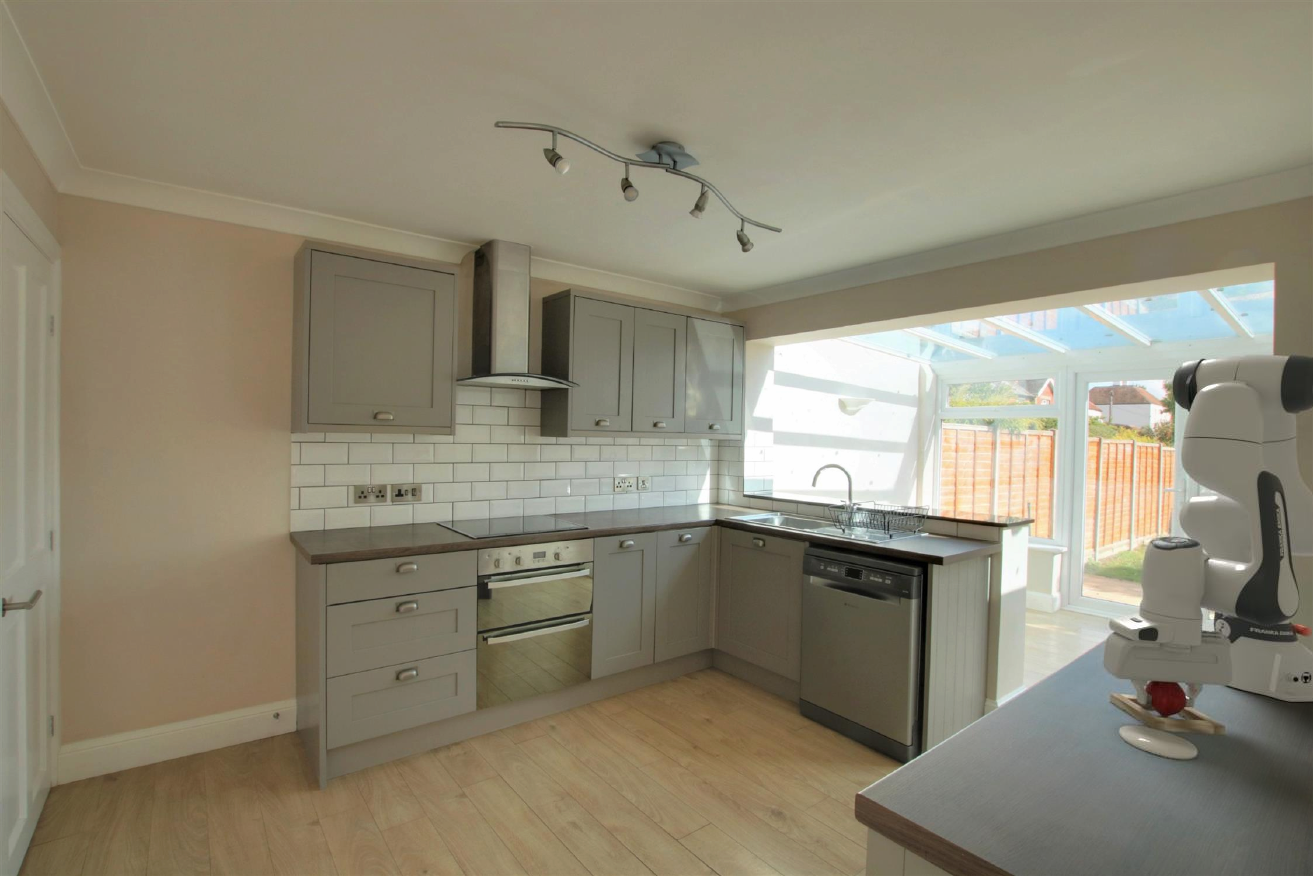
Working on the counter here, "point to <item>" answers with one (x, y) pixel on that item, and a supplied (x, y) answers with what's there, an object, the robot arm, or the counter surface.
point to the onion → (1166, 697)
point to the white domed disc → (1158, 742)
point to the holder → (1192, 724)
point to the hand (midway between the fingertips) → (1164, 704)
